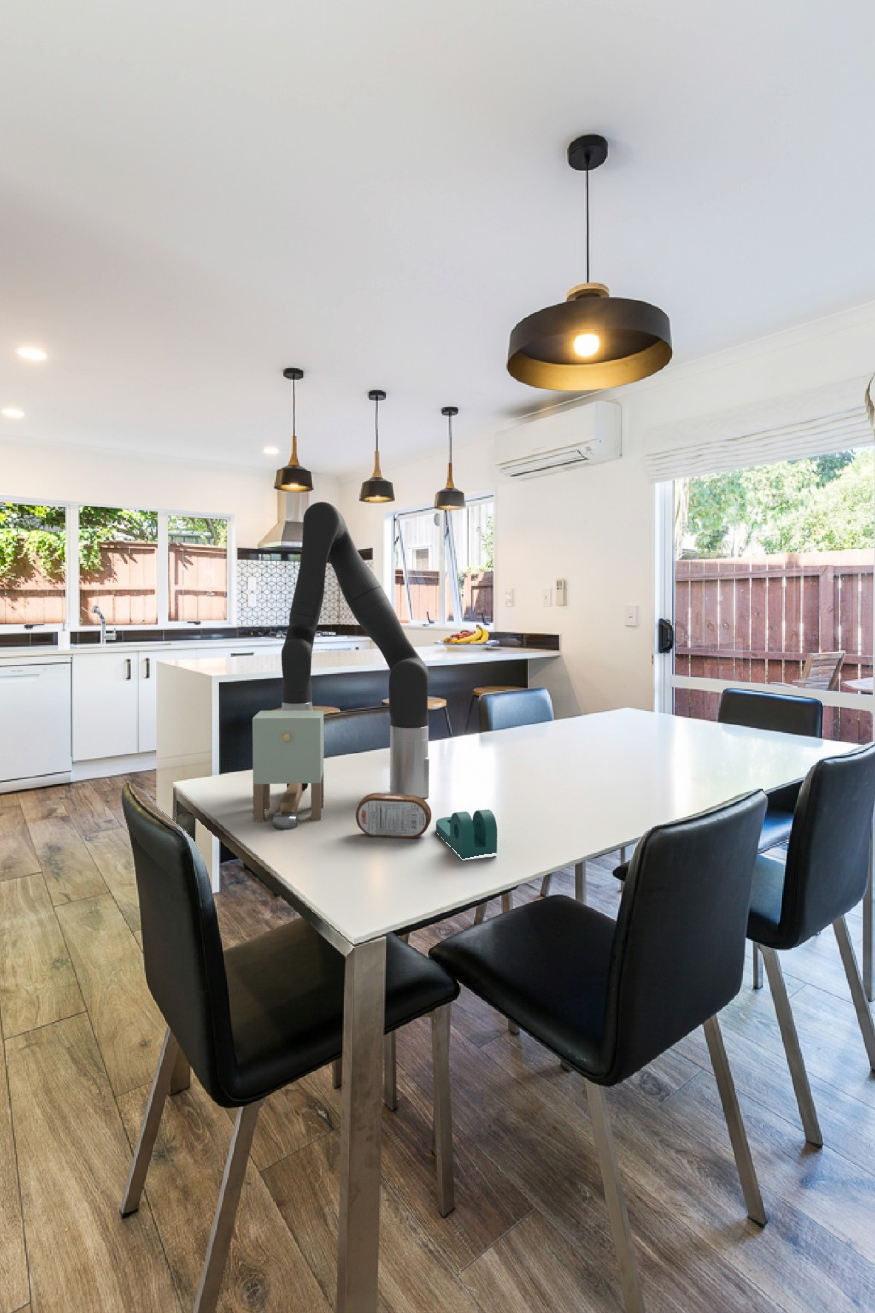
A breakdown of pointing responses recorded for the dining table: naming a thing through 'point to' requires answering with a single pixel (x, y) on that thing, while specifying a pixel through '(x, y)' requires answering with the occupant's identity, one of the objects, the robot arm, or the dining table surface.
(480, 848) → the bracket
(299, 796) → the oak slat
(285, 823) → the steel token
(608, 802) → the dining table surface
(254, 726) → the cabinet
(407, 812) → the tin
